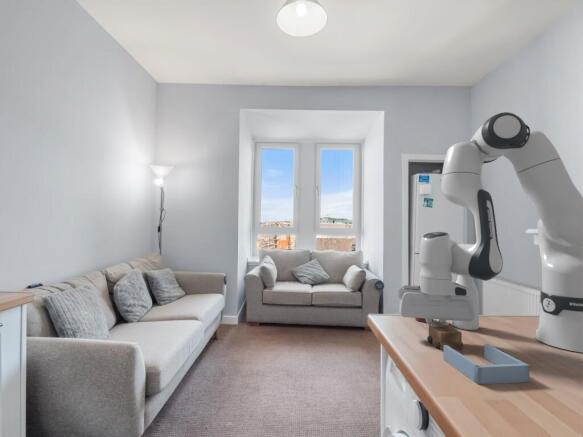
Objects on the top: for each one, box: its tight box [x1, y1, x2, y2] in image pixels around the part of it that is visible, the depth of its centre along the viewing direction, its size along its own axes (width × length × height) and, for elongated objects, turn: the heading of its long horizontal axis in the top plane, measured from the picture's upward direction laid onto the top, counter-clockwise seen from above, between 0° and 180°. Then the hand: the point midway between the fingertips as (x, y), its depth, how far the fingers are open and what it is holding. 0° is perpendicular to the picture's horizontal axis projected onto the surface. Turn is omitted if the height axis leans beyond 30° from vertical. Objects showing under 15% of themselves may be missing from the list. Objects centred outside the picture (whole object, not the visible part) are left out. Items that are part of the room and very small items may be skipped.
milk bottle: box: [451, 275, 480, 331], centre depth 102 cm, size 8×8×20 cm
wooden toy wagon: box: [426, 321, 464, 351], centre depth 86 cm, size 7×6×6 cm
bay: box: [442, 343, 530, 385], centre depth 71 cm, size 12×12×4 cm
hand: (435, 333), depth 90 cm, fingers closed
